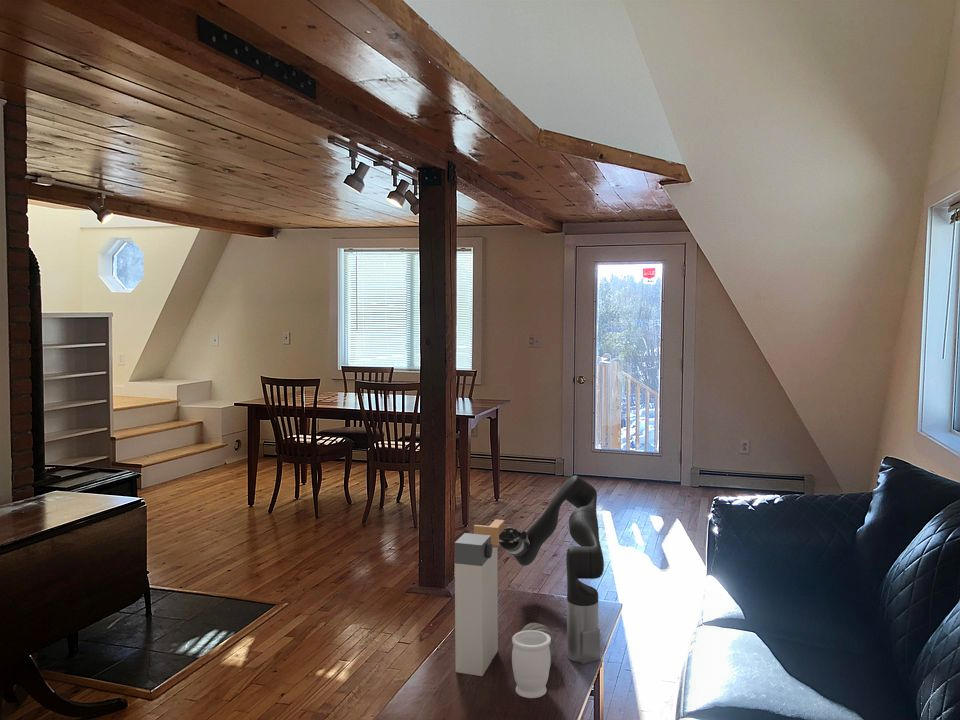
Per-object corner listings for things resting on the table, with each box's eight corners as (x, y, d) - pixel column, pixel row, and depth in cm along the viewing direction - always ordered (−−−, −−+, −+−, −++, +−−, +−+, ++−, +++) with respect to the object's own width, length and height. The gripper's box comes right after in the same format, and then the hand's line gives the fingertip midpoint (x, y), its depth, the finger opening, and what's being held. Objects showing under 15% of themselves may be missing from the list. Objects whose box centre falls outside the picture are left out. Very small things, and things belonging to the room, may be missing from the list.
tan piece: (488, 527, 250) (488, 511, 249) (511, 529, 247) (511, 513, 247) (474, 543, 235) (473, 525, 234) (498, 545, 232) (498, 527, 232)
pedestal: (472, 647, 236) (471, 526, 233) (501, 651, 234) (501, 528, 230) (455, 672, 221) (454, 542, 218) (486, 676, 218) (485, 545, 215)
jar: (532, 677, 218) (532, 626, 217) (558, 692, 210) (558, 638, 209) (503, 690, 211) (503, 637, 210) (529, 705, 203) (530, 650, 202)
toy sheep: (540, 647, 236) (540, 612, 235) (568, 672, 221) (568, 634, 220) (509, 653, 232) (509, 618, 231) (535, 679, 217) (535, 641, 216)
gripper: (493, 528, 267) (481, 517, 253) (533, 531, 263) (523, 520, 249) (490, 550, 264) (478, 540, 250) (531, 554, 260) (520, 544, 246)
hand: (500, 530), depth 250 cm, fingers open, 8 cm apart
